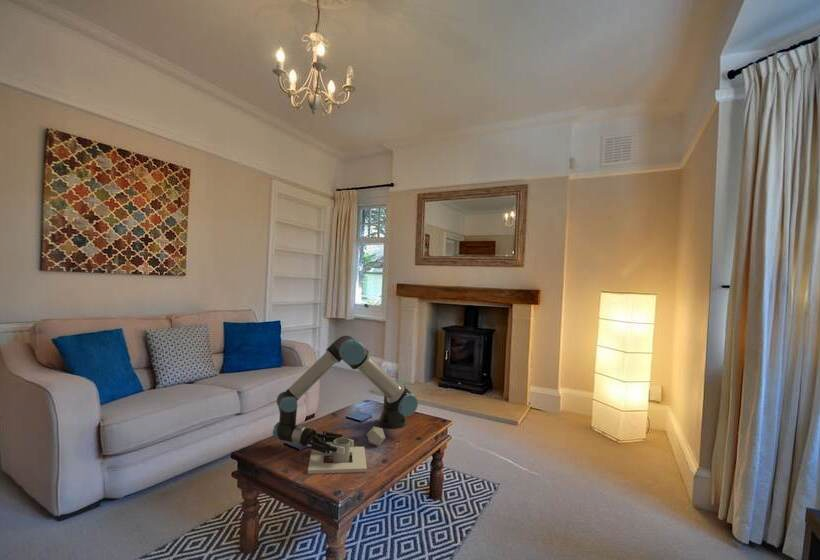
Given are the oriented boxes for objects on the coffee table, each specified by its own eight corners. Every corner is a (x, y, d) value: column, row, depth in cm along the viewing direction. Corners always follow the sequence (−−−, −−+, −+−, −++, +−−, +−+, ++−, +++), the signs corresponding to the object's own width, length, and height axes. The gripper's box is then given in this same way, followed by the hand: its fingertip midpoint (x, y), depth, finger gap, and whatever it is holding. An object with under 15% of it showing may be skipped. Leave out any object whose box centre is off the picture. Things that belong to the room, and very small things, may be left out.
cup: (339, 467, 155) (340, 446, 155) (324, 458, 161) (326, 438, 161) (352, 461, 161) (353, 441, 161) (337, 453, 167) (338, 434, 167)
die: (387, 444, 181) (382, 424, 186) (385, 442, 174) (380, 422, 179) (371, 450, 181) (366, 430, 185) (369, 448, 173) (364, 427, 178)
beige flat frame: (364, 449, 173) (364, 446, 173) (366, 471, 153) (366, 468, 153) (311, 450, 168) (312, 447, 168) (307, 473, 149) (307, 470, 149)
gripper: (316, 436, 176) (359, 446, 168) (289, 454, 157) (336, 466, 150) (317, 420, 176) (360, 430, 169) (290, 436, 157) (337, 447, 150)
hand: (348, 447), depth 159 cm, fingers closed on cup, 7 cm apart
